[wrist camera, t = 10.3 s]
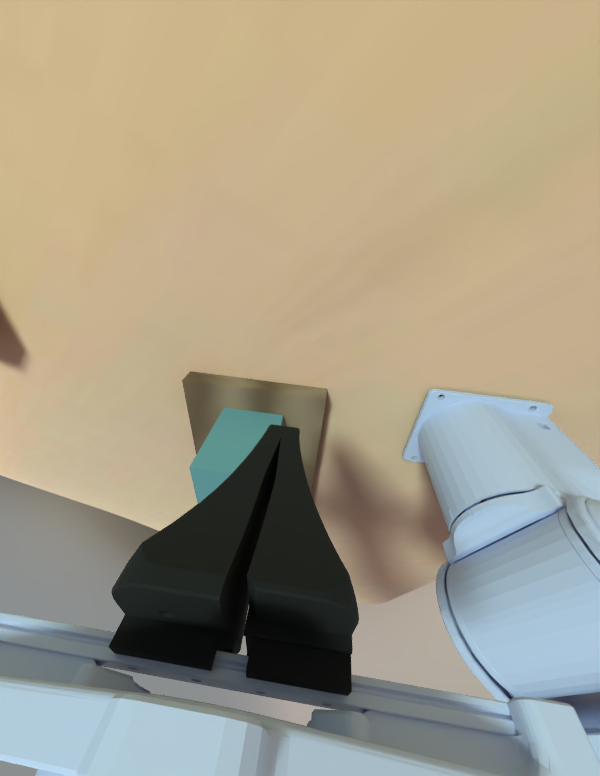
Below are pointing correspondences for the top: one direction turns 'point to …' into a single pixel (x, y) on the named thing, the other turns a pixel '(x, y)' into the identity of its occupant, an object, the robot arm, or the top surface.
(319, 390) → the brown wooden board
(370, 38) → the top surface
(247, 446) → the teal block
